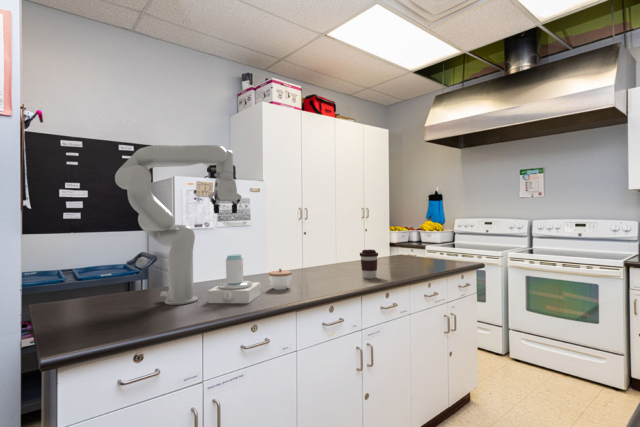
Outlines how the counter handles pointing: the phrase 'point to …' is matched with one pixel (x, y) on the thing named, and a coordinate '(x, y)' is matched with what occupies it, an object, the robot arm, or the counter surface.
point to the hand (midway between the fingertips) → (225, 213)
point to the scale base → (234, 294)
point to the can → (234, 269)
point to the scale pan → (237, 286)
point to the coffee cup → (369, 263)
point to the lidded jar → (280, 279)
